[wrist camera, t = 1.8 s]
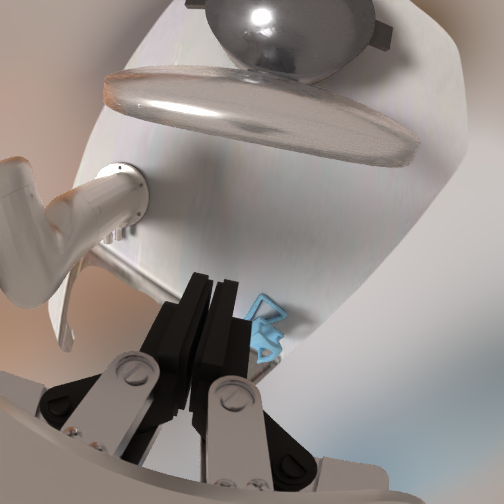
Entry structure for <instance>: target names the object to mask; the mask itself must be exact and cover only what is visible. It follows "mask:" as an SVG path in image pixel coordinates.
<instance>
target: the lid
mask: <svg viewBox="0 0 504 504" xmlns="http://www.w3.org/2000/svg"><path fill="white" fill-rule="evenodd" d="M103 101H104V103H105V104H106V106H108V107H109V108H111V109H112V110H114V111H117V112H119V113H122V114H124V115H127V116H131V117H135V118H138V119H142V120H145V121H150V122H154V123H158V124H163V125H167V126H171V127H176V128H181V129H186V130H191V131H196V132H200V133H205V134H210V135H216V136H221V137H226V138H231V139H235V140H240V141H245V142H250V143H256V144H261V145H266V146H270V147H275V148H280V149H285V150H290V151H295V152H300V153H305V154H310V155H315V156H320V157H325V158H331V159H336V160H341V161H346V162H352V163H359V164H365V165H371V166H380V167H404V166H408V165H410V164H411V163H412V161H413V158H414V156H415V154H416V151H417V149H418V146H419V144H420V141H419V139H418V138H417V137H416V136H415V135H414V134H413V133H412V132H410V131H409V130H408V129H406V128H405V127H403V126H402V125H400V124H399V123H397V122H395V121H394V120H392V119H390V118H389V117H387V116H385V115H383V114H381V113H379V112H377V111H375V110H373V109H371V108H369V107H367V106H365V105H362V104H360V103H358V102H356V101H353V100H351V99H348V98H346V97H343V96H341V95H338V94H335V93H333V92H330V91H327V90H324V89H321V88H318V87H315V86H311V85H308V84H304V83H301V82H299V80H298V79H294V78H290V77H286V76H282V75H277V74H273V73H268V72H263V71H258V70H252V69H248V70H247V71H245V70H238V69H230V68H221V67H210V66H190V65H168V66H150V67H141V68H133V69H127V70H123V71H119V72H115V73H112V74H110V75H108V76H106V77H105V79H104V100H103Z"/></svg>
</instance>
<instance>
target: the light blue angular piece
mask: <svg viewBox="0 0 504 504" xmlns="http://www.w3.org/2000/svg"><path fill="white" fill-rule="evenodd" d="M262 299H263V300H264V301H266V302H267V303H268V304H269V305H270V306H272V307H273V308H274V309H275V310H277V311H278V312H279V313H280V314H281V315H279V316H276V317H273V318H270V319H267V320H265V319H263V318H262V317H261V316H260V317H259V318H257V319H256V320H255V321H253V322H252V332H251V342H250V347H253V348H254V349H256V350H257V351H258V361H257V363H261V362H269V361H272V360H274V359H275V358H276V357H277V356H278V355H279V354H280V353H281V351H282V347H281V345H280V343H279V340H280V339H282V338H283V337H284V334H283V333H282V332H280V331H279V330H277V329H276V328H274V327H273V326H272V325H270V324H272V323H275V322H277V321H280V320H282V319H285V318H286V317H287V313H286V312H285V311H284V310H282V309H281V308H280V307H279V306H277V305H276V304H275V303H274V302H272V301H271V300H270V299H269V298H268V297H266V296H265V295H264V294H260V295H259V296H258V297H257V299H256V301H255V302H254V304H253V306H252V307H251V309H250V311H249V312H248V314H247V315H246V317H245V318H244V320H249V321H250V319H251V318H252V316H253V314H254V312H255V311H256V309H257V307H258V305H259V303H260V301H261V300H262ZM266 348H268V349H269V350H271V351H273V352H272V353H271V354H270V355H269V356H267V357H262V351H264V350H265V349H266Z"/></svg>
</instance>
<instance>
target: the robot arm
mask: <svg viewBox="0 0 504 504" xmlns="http://www.w3.org/2000/svg"><path fill="white" fill-rule="evenodd" d="M121 166H122V168H121ZM142 184H143V186H142ZM148 204H149V190H148V186H147V183H146V181H145V179H144V177H143V176H142V174H141V173H140V172H139V171H138V170H137V169H136V168H134V167H133V166H131V165H129V164H126V163H113V164H110V165H108V166H106V167H104V168H103V169H102V170H101V171H100V172H99V173H98V175H97V176H96V178H95V179H94V180H92V181H90V182H87V183H85V184H83V185H81V186H78V187H76V188H74V189H72V190H70V191H68V192H65V193H63V194H61V195H59V196H57V197H56V198H54V199H53V200H52V201H51V202H50V203H49V204H48V205H47V206H46V208H45V209H44V206H43V203H42V199H41V196H40V193H39V190H38V186H37V183H36V179H35V176H34V172H33V169H32V167H31V164H30V163H29V161H28V160H27V159H25V158H24V157H20V156H15V157H10V158H7V159H4V160H2V161H0V288H1V290H2V291H3V293H4V294H5V295H6V296H7V298H8V299H9V300H10V301H11V302H12V303H13V304H14V305H16V306H18V307H20V308H23V309H33V308H36V307H39V306H41V305H42V304H44V303H45V302H46V301H48V300H49V299H50V298H51V297H52V296H53V294H54V293H55V292H56V291H57V290H58V288H59V287H60V285H61V284H62V282H63V280H64V279H65V277H66V276H67V274H68V273H69V271H70V270H71V268H72V267H73V266H74V265H75V264H76V263H77V262H78V261H79V260H80V259H81V258H82V257H83V256H84V255H85V254H86V253H87V252H88V251H89V250H91V249H92V248H93V247H94V246H95V245H96V244H98V243H99V242H100V241H101V240H102V239H104V244H111V243H112V242H113V234H112V231H113V230H115V240H117V241H120V240H122V229H123V227H126V226H130V225H133V224H135V223H136V222H138V221H139V220H140V219H141V218H142V217H143V215H144V214H145V212H146V210H147V207H148ZM208 278H209V276H208V275H205V274H200V273H196V272H194V273H193V275H192V277H191V279H190V281H189V283H188V285H187V287H186V289H185V292H184V294H183V296H182V298H181V300H180V302H179V304H175V303H171V302H168V301H166V302H165V303H164V304H163V306H162V308H161V310H160V311H159V313H158V316H157V317H156V319H155V321H154V323H153V325H152V327H151V329H150V331H149V333H148V335H147V337H146V339H145V341H144V343H143V345H142V347H141V349H140V351H129V352H124V353H122V354H120V355H118V356H117V357H116V358H115V359H114V360H113V361H112V362H111V364H110V365H109V366H108V368H107V369H106V370H105V371H104V373H102V374H99V375H95V376H92V377H88V378H85V379H81V380H78V381H74V382H70V383H66V384H63V385H59V386H55V387H53V388H50V389H49V388H46V387H45V386H44V384H40V383H37V382H34V381H30V380H27V379H24V378H21V377H18V376H15V375H13V374H10V373H7V372H4V371H0V504H426V503H425V502H424V501H423V500H421V499H420V498H418V497H416V496H413V495H411V494H408V493H403V492H399V491H391V490H388V489H389V478H388V475H387V473H386V471H385V470H384V469H383V468H381V467H379V466H376V465H371V464H363V463H355V462H349V461H344V460H338V459H333V458H328V457H323V458H322V459H321V458H316V457H313V456H312V455H311V454H310V453H309V452H308V451H307V450H306V449H305V448H304V447H302V446H301V445H300V444H299V443H298V442H297V441H296V440H295V439H293V438H292V437H291V436H290V435H289V434H288V433H287V432H286V431H285V430H284V429H283V428H282V427H280V426H279V425H278V424H277V423H276V422H275V421H274V420H273V419H272V418H271V417H270V416H269V415H268V414H267V413H266V412H265V411H264V410H263V408H262V401H261V395H260V392H259V390H258V388H257V387H256V386H255V385H254V384H253V383H252V382H251V381H249V380H247V372H248V362H249V352H250V342H251V332H252V321H249V320H244V319H240V318H235V317H232V315H233V310H234V305H235V300H236V295H237V289H238V284H239V282H236V281H231V280H227V279H224V282H223V283H222V282H218V283H217V286H216V289H215V292H214V295H213V298H212V302H211V305H210V299H211V293H212V287H213V280H209V279H208ZM209 305H210V308H209ZM190 387H191V394H190V405H189V412H193V417H192V425H193V427H194V428H195V429H196V431H197V432H198V433H199V434H200V436H201V437H200V482H196V481H192V480H187V479H183V478H179V477H175V476H171V475H167V474H164V473H160V472H157V471H153V470H150V469H147V468H144V467H142V465H143V463H144V461H145V459H146V457H147V456H148V454H149V452H150V450H151V448H152V446H153V444H154V442H155V440H156V438H157V436H158V434H159V432H160V430H161V428H162V425H163V423H165V422H168V421H170V420H172V419H173V416H177V413H178V409H182V410H184V409H185V405H186V402H187V398H188V395H189V391H190Z"/></svg>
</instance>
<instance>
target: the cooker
mask: <svg viewBox="0 0 504 504" xmlns="http://www.w3.org/2000/svg"><path fill="white" fill-rule="evenodd" d="M185 6H186V7H187V9H205V12H206V17H207V21H208V24H209V26H210V28H211V30H212V32H213V33H214V35H215V36H216V38H217V39H218V41H219V43H220V44H221V46H222V47H223V49H224V51H225V52H226V54H227V55H228V57H229V58H230V60H231V61H232V62H233V63H234V64H235V65H236V66H237V67H238V68H239V69H240V70H245V71H247V70H248V69H252V70H258V71H263V72H268V73H273V74H277V75H282V76H286V77H290V78H294V79H298V80H299V82H301V83H304V84H308V85H310V84H314V83H317V82H319V81H322V80H324V79H326V78H327V77H329V76H331V75H332V74H333V73H335V72H336V71H338V70H339V69H340V68H342V67H343V66H344V65H346V64H347V63H348V62H350V61H351V60H353V59H354V58H355V57H357V56H358V55H359V54H360V53H361V52H362V51H363V50H364V49H365V47H366V46H367V45H371V46H373V47H376V48H378V49H380V50H383V51H387V50H389V49H390V43H391V37H392V31H393V27H391V26H388V25H386V24H384V23H382V22H379V21H377V20H375V11H374V7H373V3H372V1H371V0H186V2H185Z"/></svg>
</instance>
